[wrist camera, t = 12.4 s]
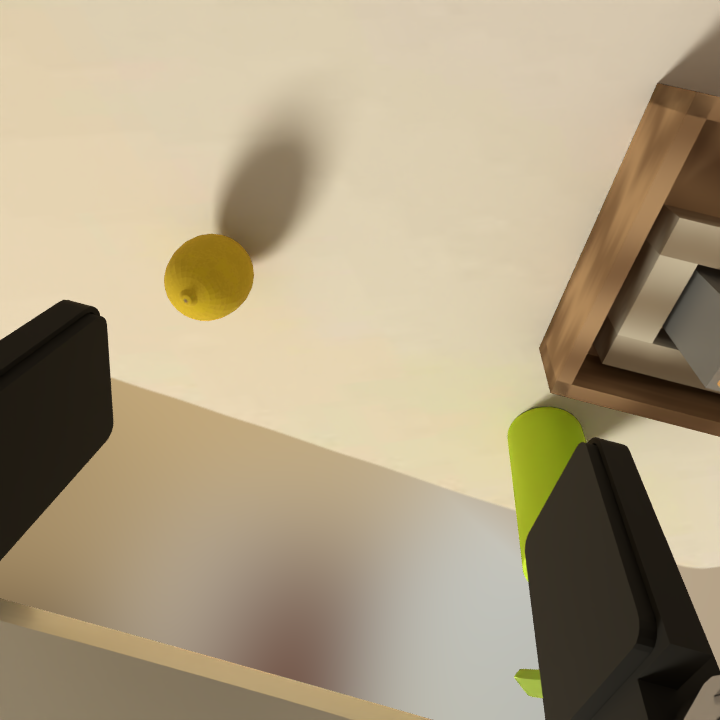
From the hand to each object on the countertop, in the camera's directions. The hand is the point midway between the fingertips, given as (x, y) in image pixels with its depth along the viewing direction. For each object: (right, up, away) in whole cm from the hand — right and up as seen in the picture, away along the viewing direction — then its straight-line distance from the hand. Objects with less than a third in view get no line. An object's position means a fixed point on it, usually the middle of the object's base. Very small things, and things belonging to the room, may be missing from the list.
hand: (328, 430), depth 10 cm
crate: (+24, +8, +24) cm, 35 cm away
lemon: (-9, +9, +30) cm, 32 cm away
